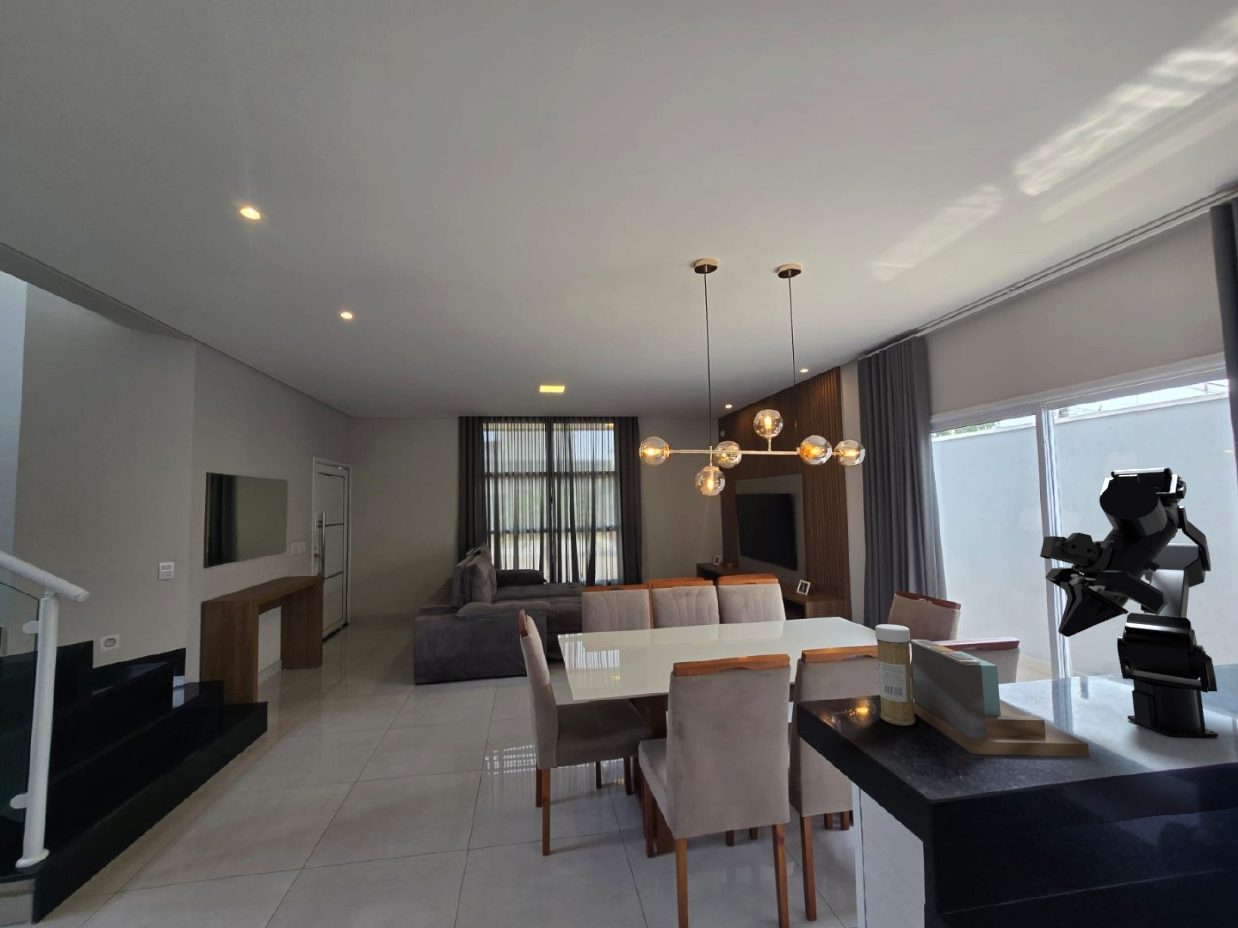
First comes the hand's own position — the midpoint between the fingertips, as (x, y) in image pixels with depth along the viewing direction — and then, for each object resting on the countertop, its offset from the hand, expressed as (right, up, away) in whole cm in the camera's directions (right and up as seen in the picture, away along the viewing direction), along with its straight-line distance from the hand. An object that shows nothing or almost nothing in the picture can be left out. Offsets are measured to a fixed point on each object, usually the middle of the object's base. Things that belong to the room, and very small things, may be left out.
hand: (1062, 634), depth 75 cm
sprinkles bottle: (-23, -13, +1) cm, 27 cm away
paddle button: (-15, -11, -2) cm, 18 cm away
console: (-12, -13, -2) cm, 18 cm away
